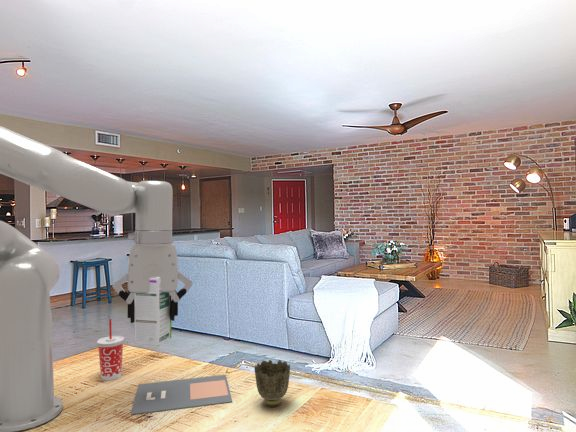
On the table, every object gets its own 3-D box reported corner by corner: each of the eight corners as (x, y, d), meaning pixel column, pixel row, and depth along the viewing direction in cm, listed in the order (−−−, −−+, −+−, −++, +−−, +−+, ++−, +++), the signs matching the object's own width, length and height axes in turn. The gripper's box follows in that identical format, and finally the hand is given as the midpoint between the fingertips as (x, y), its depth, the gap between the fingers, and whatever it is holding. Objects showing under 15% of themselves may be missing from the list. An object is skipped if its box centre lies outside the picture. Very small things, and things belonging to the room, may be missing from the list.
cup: (250, 411, 82) (250, 372, 81) (258, 394, 89) (258, 358, 89) (287, 414, 80) (287, 374, 80) (292, 396, 88) (292, 360, 88)
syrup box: (158, 346, 85) (159, 277, 84) (132, 344, 86) (134, 275, 86) (171, 338, 90) (172, 273, 90) (147, 336, 91) (148, 271, 91)
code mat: (130, 414, 81) (130, 413, 81) (138, 385, 94) (138, 384, 94) (232, 402, 86) (232, 401, 86) (225, 375, 99) (225, 374, 99)
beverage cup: (92, 381, 97) (90, 322, 96) (106, 370, 103) (105, 315, 102) (116, 382, 96) (115, 323, 96) (129, 371, 102) (128, 316, 102)
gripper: (107, 240, 82) (106, 327, 82) (195, 239, 86) (195, 322, 86) (113, 237, 89) (112, 317, 89) (195, 237, 93) (194, 313, 94)
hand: (153, 319), depth 88 cm, fingers closed on syrup box, 7 cm apart
